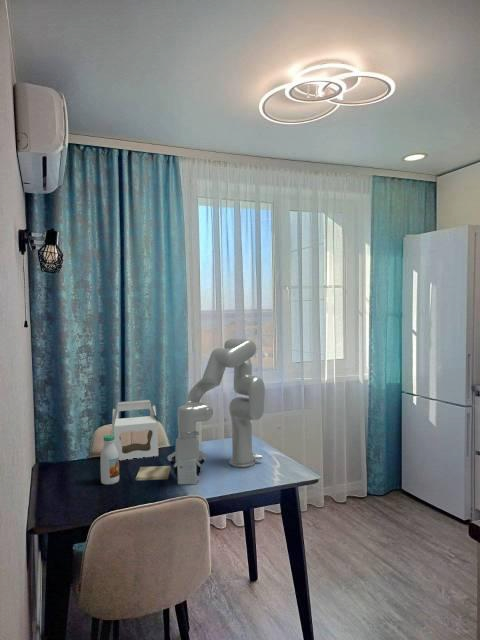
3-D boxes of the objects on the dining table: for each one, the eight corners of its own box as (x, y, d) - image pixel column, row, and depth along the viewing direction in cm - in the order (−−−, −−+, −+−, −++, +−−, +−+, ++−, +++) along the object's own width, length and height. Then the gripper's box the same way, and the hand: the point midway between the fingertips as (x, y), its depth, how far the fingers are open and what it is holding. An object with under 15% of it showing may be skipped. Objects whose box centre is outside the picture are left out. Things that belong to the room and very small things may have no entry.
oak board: (170, 468, 217) (170, 465, 217) (168, 479, 203) (167, 476, 203) (140, 469, 217) (140, 466, 216) (135, 480, 203) (135, 477, 203)
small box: (198, 479, 202) (197, 455, 202) (196, 484, 196) (195, 459, 196) (179, 479, 202) (179, 455, 202) (177, 484, 197) (176, 460, 196)
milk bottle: (102, 486, 197) (101, 439, 196) (99, 480, 203) (98, 435, 203) (121, 482, 200) (120, 436, 200) (117, 477, 207) (116, 432, 207)
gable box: (114, 461, 230) (112, 405, 229) (112, 453, 242) (111, 400, 242) (159, 456, 237) (157, 401, 236) (155, 448, 249) (154, 397, 249)
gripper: (207, 431, 203) (207, 471, 203) (167, 433, 202) (168, 473, 202) (207, 436, 195) (207, 477, 196) (165, 437, 194) (166, 479, 195)
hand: (187, 475), depth 199 cm, fingers closed on small box, 8 cm apart
